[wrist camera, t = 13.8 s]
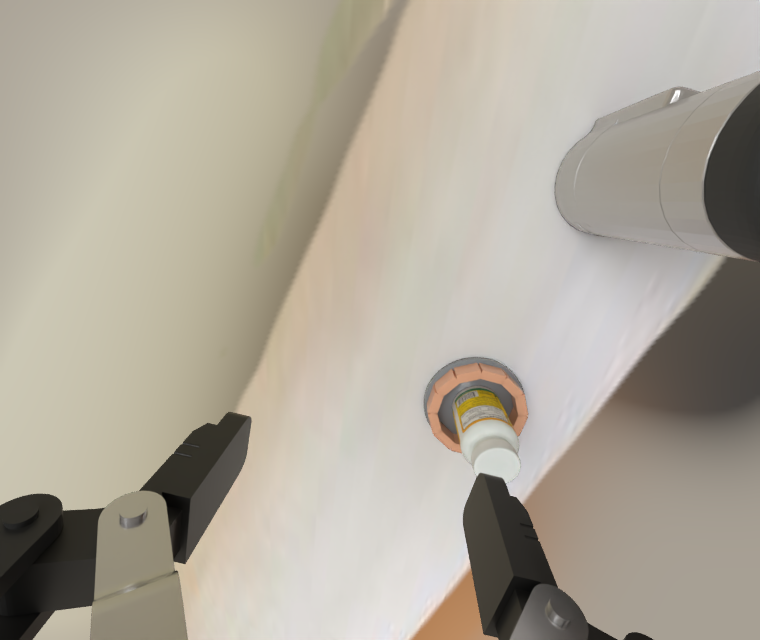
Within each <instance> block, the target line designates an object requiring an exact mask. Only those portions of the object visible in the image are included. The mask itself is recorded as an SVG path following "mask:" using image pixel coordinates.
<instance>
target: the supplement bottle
mask: <svg viewBox="0 0 760 640" xmlns="http://www.w3.org/2000/svg"><path fill="white" fill-rule="evenodd" d="M452 412H453V416H454V421H455V425H456V430H457V434H458V438H459V443H460V448H461V451H462V454H463V456H464V458H465V459H466V460H467V461H468V462H469V463H470V464H471V465H472V466H473V470H474V473H475V475H476V476H478V474H479V473H485V474H489V475H493V476H497V477H501V478H503V479H504V481H505V484H507V483H509V482H511V481H512V480H514V479H515V478H516V477H517V475H518V474H519V472H520V468H521V463H520V459H519V457H518V454H517V453H518V450H519V440H518V437H517V434H516V432H515V430H514V428H513V426H512V424H511V422H510V420H509V417H508V415H507V413H506V411H505V409H504V407H503V405H502V403H501V401H500V400H499V398H498V396H497V395H496V393H495V392H494V391H492V390H491V389H489V388H486V387H482V386H472V387H468V388H466V389H464V390H462V391H461V392H460V393H458V394H457V396H456V397H455V399H454V401H453V404H452Z"/></svg>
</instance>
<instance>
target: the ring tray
mask: <svg viewBox="0 0 760 640" xmlns="http://www.w3.org/2000/svg"><path fill="white" fill-rule="evenodd" d="M472 386H482V387H486V388H489V389H491V390H492V391H494V392H495V393H496V395H497V396H498V398H499V400H500V401H501V403H502V405H503V407H504V409H505V411H506V413H507V415H508V417H509V420H510V422H511V424H512V426H513V428H514V430H515V432H516V434H517V436H519V435H520V433H521V431H522V429H523V427H524V424H525V422H526V420H527V418H528V417H527V415H528V412H527V406H526V400H525V395H524V391H523V388H522V386H521V384H520V382H519V381H518V379H517V378H516V376H515V375H514V374H513V373H512V371H510V370H509V369H508V368H507V367H506V366H504V365H503V364H501V363H499V362H497V361H494V360H491V359H486V358H478V357H473V358H465V359H461V360H457V361H455V362H452V363H450V364H448V365H446V366H445V367H443V368H442V369H441V370H439V371H438V372H437V373H436V374H435V375H434V377H433V378H432V379H431V381H430V383H429V384H428V386H427V389H426V392H425V396H424V409H425V415H426V418H427V421H428V423H429V425H430V426H431V428H432V432H433V434H434V436H435V437H436V438H437V439H438V440H439V441H441V442H442V443H443V444H444V445H445V446H446V447H447V448H448V449H451V451H455V452H459V453H462V451H461V448H460V443H459V438H458V434H457V430H456V425H455V421H454V416H453V412H452V404H453V401H454V399H455V397H456V396H457V394H458V393H460V392H461V391H462V390H464V389H466V388H468V387H472Z"/></svg>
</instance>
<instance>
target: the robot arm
mask: <svg viewBox="0 0 760 640" xmlns="http://www.w3.org/2000/svg"><path fill="white" fill-rule="evenodd" d="M555 197H556V202H557V206H558V208H559V210H560V212H561V215H562V216H563V217H564V219H565V220H566V221H567V222H568V223H569V224H570V225H572V226H573V227H574V228H576V229H578V230H580V231H583V232H585V233H590V234H594V235H598V236H607V237H613V238H619V239H625V240H631V241H637V242H643V243H649V244H654V245H660V246H666V247H672V248H678V249H684V250H690V251H696V252H702V253H708V254H714V255H720V256H726V257H732V258H738V259H744V260H750V261H756V262H760V71H758V72H755V73H753V74H750V75H747V76H745V77H742V78H739V79H736V80H734V81H731V82H728V83H725V84H723V85H720V86H717V87H715V88H712V89H709V90H706V91H704V92H699V91H695V90H692V89H688V88H685V87H674V88H671V89H669V90H666V91H664V92H661V93H659V94H657V95H654V96H652V97H650V98H647V99H645V100H642V101H640V102H638V103H635V104H633V105H631V106H628V107H626V108H623V109H621V110H619V111H616V112H614V113H611V114H609V115H607V116H604V117H602V118H600V119H598V120H597V121H596V122H595V125H594V127H593V129H592V131H591V132H590V133H589V134H588V135H587V136H585V137H584V138H583V139H582V140H580V141H579V142H578V143H576V145H575V146H574V147H573V148H572V149H571V150H570V151H569V152H568V154H567V155H566V157H565V159H564V160H563V162H562V164H561V166H560V169H559V171H558V174H557V178H556V184H555ZM250 428H251V417H249V416H245V415H241V414H237V413H233V412H228V413H227V414H226V415H225V416H224V417H223V419H222V420H221V421H220V422H219V424H218V425H214V424H210V423H207V424H205V425H203V426H201V427H200V428H198V429H196V430H194V431H193V432H192V433H191V434H190V435H189V436H188V437H187V438H186V440H185V441H184V442H183V444H182V445H180V446H179V447H178V448H177V449H176V451H175V452H174V454H172V455H171V456H170V457H169V458H168V460H166V462H165V463H164V464H163V465H162V466H161V467H160V468H159V469H158V471H157V472H156V473H155V474H154V475H153V476H152V477H151V478H150V479H149V480H148V482H147V483H146V484H145V485H144V486H143V487H142V488H141V489H140V490H139V491H136V492H131V493H128V494H125V495H123V496H121V497H119V498H117V499H115V500H114V501H112V502H111V503H110V504H109V505H107V506H106V508H100V509H87V510H69V511H63V510H62V509H63V508H62V503H61V501H60V500H59V499H58V498H57V497H55V496H53V495H49V494H33V495H32V494H31V495H27V496H22V497H19V498H16V499H13V500H11V501H8V502H6V503H4V504H2V505H0V640H33V638H34V637H35V636H36V634H37V633H38V632H39V630H40V629H41V628H42V627H43V625H44V624H45V623H46V621H47V620H48V619H49V618H50V616H51V615H52V614H53V613H54V611H55V610H63V609H71V608H78V607H86V606H92V614H91V632H90V640H188V637H187V629H186V622H185V615H184V607H183V600H182V593H181V585H180V579H179V574H178V571H175V568H174V562H178V563H183V564H186V562H187V560H188V559H189V557H190V555H191V554H192V552H193V550H194V549H195V547H196V545H197V544H198V542H199V540H200V539H201V537H202V535H203V534H204V532H205V530H206V528H207V527H208V525H209V523H210V522H211V520H212V518H213V517H214V515H215V513H216V512H217V510H218V508H219V507H220V505H221V503H222V502H223V500H224V498H225V497H226V495H227V493H228V492H229V490H230V488H231V487H232V485H233V483H234V481H235V480H236V478H237V476H238V475H239V473H240V471H241V469H242V467H243V465H244V462H245V459H246V455H247V449H248V442H249V435H250ZM463 527H464V532H465V537H466V543H467V548H468V553H469V559H470V564H471V569H472V575H473V580H474V586H475V591H476V596H477V601H478V607H479V612H480V618H481V623H482V628H483V634H484V635H489V636H493V637H497V638H498V639H499V640H617V639H615V638H613V637H612V636H610V635H608V634H606V633H604V632H602V631H601V630H599V629H597V628H595V627H594V626H592V625H590V624H589V623H587V621H586V619H585V616H584V614H583V613H582V611H581V610H580V608H579V606H578V605H577V604H576V603H575V602H574V601H573V599H571V597H570V596H568V595H567V594H566V593H565V592H563V591H562V590H560V589H558V586H557V584H556V581H555V579H554V576H553V574H552V572H551V569H550V566H549V564H548V561H547V559H546V557H545V554H544V551H543V549H542V547H541V544H540V542H539V541H538V537H537V534H536V532H535V529H533V524H532V522H531V519H530V517H529V514H528V512H527V510H526V509H525V508H524V506H523V505H522V504H521V503H520V501H519V500H518V499H517V497H513V496H510V495H509V492H508V489H507V486H506V484H505V481H504V479H503V478H501V477H497V476H493V475H489V474H485V473H479V474H478V476H477V478H476V480H475V483H474V485H473V488H472V490H471V493H470V495H469V497H468V500H467V502H466V505H465V508H464V513H463ZM624 640H653V639H652V638H650V637H648V636H646V635H643V634H641V633H636V632H634V633H633V632H632V633H629V634H628V635H626V637H625V638H624Z"/></svg>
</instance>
